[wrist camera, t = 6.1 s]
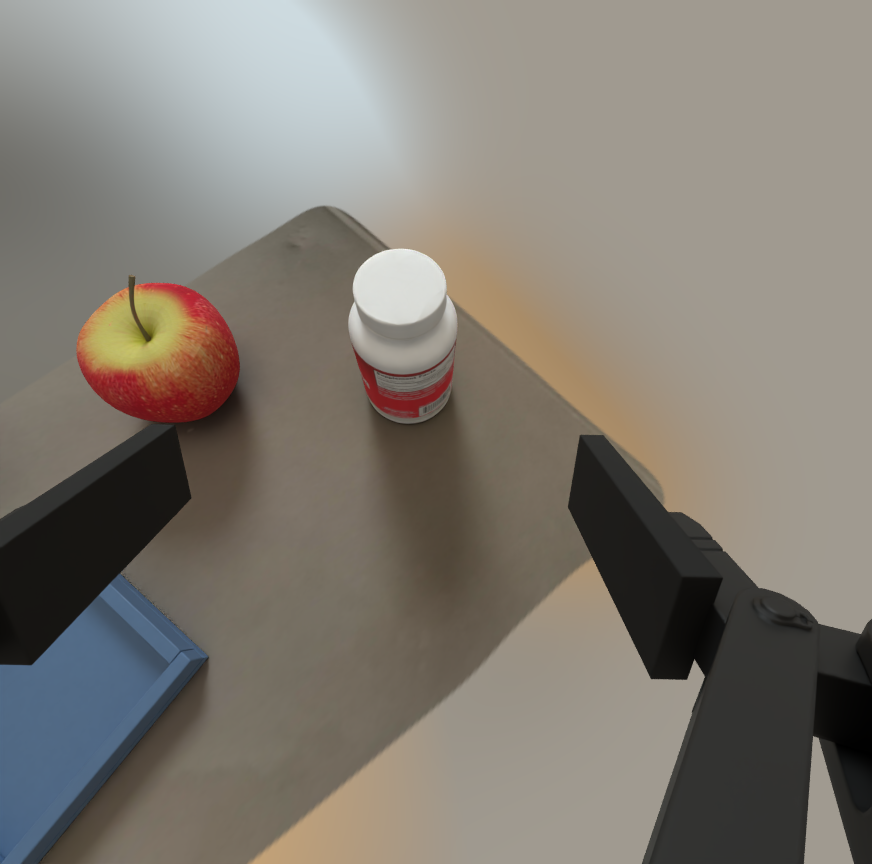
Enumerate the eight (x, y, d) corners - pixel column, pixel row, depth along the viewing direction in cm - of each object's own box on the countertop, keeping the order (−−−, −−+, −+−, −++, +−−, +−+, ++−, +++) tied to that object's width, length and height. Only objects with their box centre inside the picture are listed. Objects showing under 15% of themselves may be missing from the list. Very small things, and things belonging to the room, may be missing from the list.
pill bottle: (376, 345, 34) (352, 229, 23) (457, 356, 33) (469, 244, 23) (358, 420, 31) (323, 328, 21) (444, 433, 31) (452, 346, 21)
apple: (282, 369, 33) (224, 274, 23) (204, 464, 30) (103, 400, 21) (196, 321, 34) (108, 213, 25) (114, 407, 31) (-19, 323, 22)
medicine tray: (209, 656, 26) (191, 660, 24) (18, 888, 22) (-23, 915, 20) (69, 526, 28) (43, 520, 26) (-124, 713, 24) (-171, 722, 23)
